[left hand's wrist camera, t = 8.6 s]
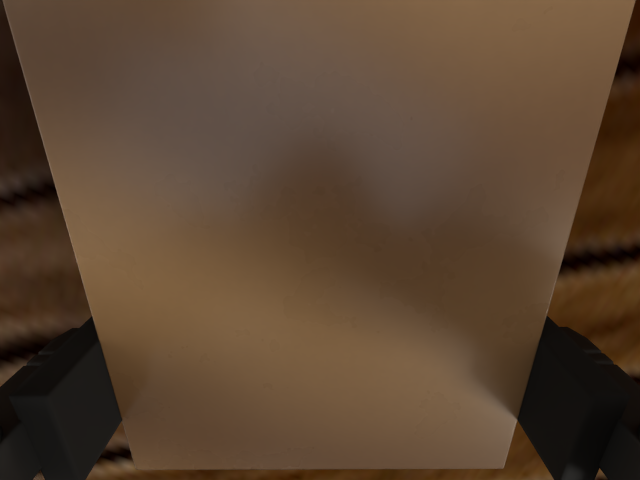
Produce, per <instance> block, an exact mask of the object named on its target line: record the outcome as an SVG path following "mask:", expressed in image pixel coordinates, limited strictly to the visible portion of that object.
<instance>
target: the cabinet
mask: <svg viewBox="0 0 640 480" xmlns="http://www.w3.org/2000/svg"><path fill="white" fill-rule="evenodd" d="M2 1H3V4H4V8H5V11H6V15H7V18H8V22H9V25H10V29H11V32H12V36H13V40H14V43H15V47H16V50H17V54H18V57H19V61H20V64H21V68H22V71H23V75H24V78H25V82H26V85H27V89H28V92H29V96H30V99H31V103H32V106H33V110H34V113H35V117H36V120H37V124H38V127H39V131H40V134H41V138H42V141H43V145H44V148H45V152H46V155H47V159H48V162H49V166H50V170H51V173H52V177H53V180H54V184H55V187H56V191H57V194H58V198H59V201H60V205H61V208H62V212H63V215H64V219H65V222H66V226H67V229H68V233H69V236H70V240H71V243H72V247H73V250H74V254H75V257H76V261H77V264H78V268H79V271H80V275H81V278H82V282H83V285H84V289H85V292H86V296H87V300H88V303H89V307H90V310H91V314H92V317H93V321H94V324H95V328H96V331H97V335H98V338H99V342H100V345H101V349H102V352H103V356H104V359H105V363H106V366H107V370H108V373H109V377H110V380H111V384H112V387H113V391H114V394H115V398H116V401H117V405H118V408H119V412H120V415H121V419H122V422H123V426H124V430H125V433H126V437H127V440H128V444H129V447H130V451H131V454H132V458H133V461H134V465H135V468H136V469H137V470H207V469H502V468H504V465H505V462H506V458H507V455H508V451H509V447H510V444H511V440H512V437H513V433H514V430H515V426H516V423H517V419H518V416H519V412H520V408H521V405H522V401H523V398H524V394H525V391H526V387H527V384H528V380H529V376H530V373H531V369H532V366H533V362H534V359H535V355H536V352H537V348H538V345H539V341H540V337H541V334H542V330H543V327H544V323H545V320H546V316H547V313H548V309H549V306H550V302H551V298H552V295H553V291H554V288H555V284H556V281H557V277H558V274H559V270H560V267H561V263H562V259H563V256H564V252H565V249H566V245H567V242H568V238H569V235H570V231H571V228H572V224H573V220H574V217H575V213H576V210H577V206H578V203H579V199H580V196H581V192H582V188H583V185H584V181H585V178H586V174H587V171H588V167H589V164H590V160H591V157H592V153H593V149H594V146H595V142H596V139H597V135H598V132H599V128H600V125H601V121H602V118H603V114H604V110H605V107H606V103H607V100H608V96H609V93H610V89H611V86H612V82H613V79H614V75H615V71H616V68H617V64H618V61H619V57H620V54H621V50H622V47H623V43H624V40H625V36H626V32H627V29H628V25H629V22H630V18H631V15H632V11H633V8H634V4H635V1H636V0H2Z"/></svg>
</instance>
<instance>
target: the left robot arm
mask: <svg viewBox="0 0 640 480" xmlns="http://www.w3.org/2000/svg"><path fill="white" fill-rule="evenodd" d="M517 420H518V422H519V423H520V425H521V426H522V428H523V430H524V431H525V433H526V434H527V436H528V438H529V439H530V441H531V443H532V444H533V446H534V447H535V449H536V451H537V452H538V454H539V456H540V457H541V459H542V460H543V462H544V464H545V465H546V467H547V469H548V470H549V472H550V473H551V475H552V477H553V478H554V480H594V479H595V477H596V475H597V472H598V470H599V468H600V469H601V470H602V472H603V473H604V474H605V476H606V477H607V478H608V479H609V480H640V385H638V384H637V383H636V382H635V381H634V380H633V379H632V378H631V377H630V376H628V375H627V374H626V373H625V372H624V371H623V370H622V369H621V368H620V367H618V366H617V365H614V364H613V361H612V360H611V359H609V358H608V357H607V356H606V355H605V354H602V353H601V350H599V349H598V348H597V347H596V346H595V345H594V344H593V343H592V342H591V341H589V340H588V339H587V338H586V337H584V336H582V335H580V334H579V333H577V332H575V331H574V330H572V329H570V328H568V327H558V326H557V325H556V324H555V323H554V322H553V321H552V320H551V319H550V318H549V317H548V316H546V320H545V323H544V327H543V330H542V334H541V337H540V341H539V345H538V348H537V352H536V355H535V359H534V362H533V366H532V369H531V373H530V376H529V380H528V384H527V387H526V391H525V394H524V398H523V401H522V405H521V408H520V412H519V416H518V419H517ZM121 421H122V419H121V415H120V412H119V408H118V405H117V401H116V398H115V394H114V391H113V387H112V384H111V380H110V377H109V373H108V370H107V366H106V363H105V359H104V356H103V352H102V349H101V345H100V342H99V338H98V335H97V331H96V328H95V324H94V321H93V317H91V318H90V319H89V320H88V321H86V322H85V323H84V324H83V325H82V326H81V327H80V328H72V329H70V330H69V331H67V332H65V333H63V334H62V335H60V336H58V337H56V338H55V339H53V340H52V341H51V342H50V343H49V344H48V345H46V346H45V347H44V348H43V349H42V350H41V351H40V352H39V354H38V355H35V356H34V357H33V358H32V359H31V360H30V361H29V362H28V363H27V365H26V366H23V367H22V368H21V369H20V370H19V371H18V372H16V373H15V374H14V375H13V376H12V377H11V378H10V379H9V380H8V381H6V382H5V383H4V384H3V385H2V386H1V387H0V480H33V478H34V477H35V476H36V474H37V473H38V472H39V470H40V469H41V471H42V474H43V476H44V478H45V480H85V479H86V478H87V476H88V474H89V473H90V471H91V470H92V468H93V466H94V465H95V463H96V461H97V460H98V458H99V457H100V455H101V453H102V452H103V450H104V448H105V447H106V445H107V444H108V442H109V440H110V439H111V437H112V435H113V434H114V432H115V431H116V429H117V427H118V426H119V424H120V422H121Z"/></svg>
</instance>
